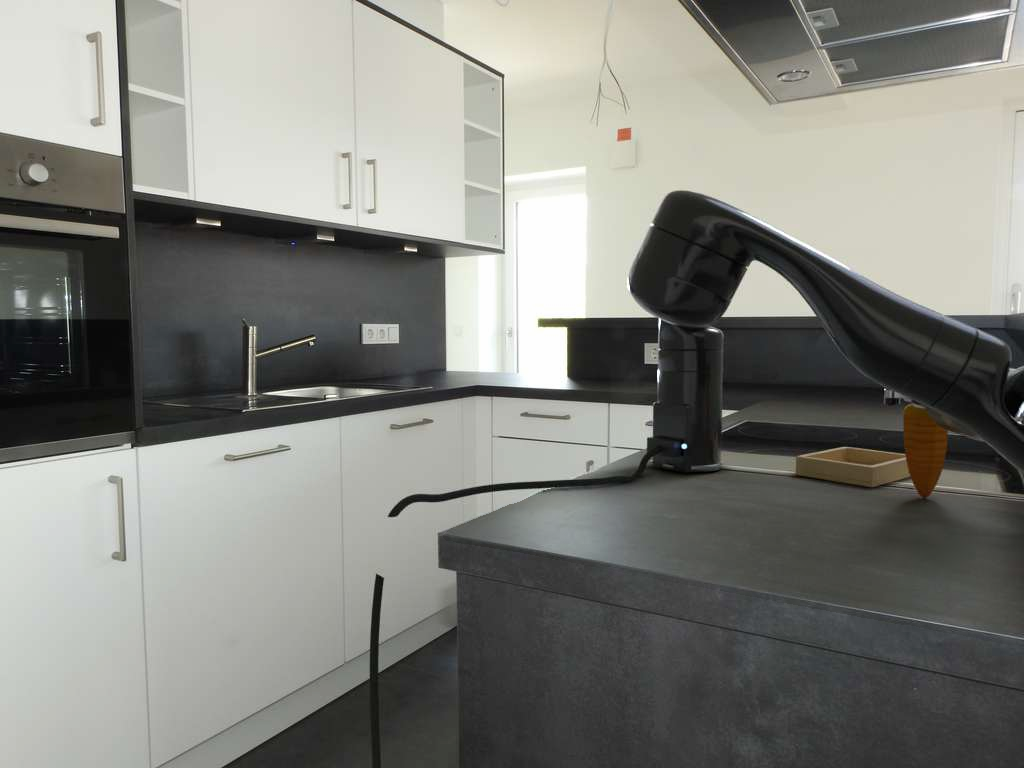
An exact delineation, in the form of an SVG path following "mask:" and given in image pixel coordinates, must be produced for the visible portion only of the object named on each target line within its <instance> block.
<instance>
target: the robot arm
mask: <svg viewBox="0 0 1024 768" xmlns="http://www.w3.org/2000/svg"><path fill="white" fill-rule="evenodd" d="M753 261H755V262H756V261H757V262H759V263H761V264H763V265H765V266H766V267H768V268H770V269H771V270H773V271H775V272H776V273H777V274H778V275H780V276H781V277H783V279H785V280H786V282H788V283H789V284H790V285H791V286H792V287H793V288H794V289H795V290H796V291H797V293H799V295H800V296H801V298H803V300H804V301H805V303H806V304H807V305H808V307H810V309H811V310H812V312H813V313H814V315H815V316H816V318H817V319H818V320H819V322H820V324H821V325H822V327H823V329H824V330H825V331H826V333H827V335H828V336H829V338H830V339H831V341H832V342H833V344H834V345H835V346H836V348H837V349H838V350H839V352H840V353H841V355H842V356H843V357H844V358H845V359H846V360H847V362H848V363H849V364H851V366H852V367H853V368H854V369H855V370H857V371H858V372H859V373H860V374H862V375H863V376H865V378H867V379H868V380H870V381H873V382H874V383H875V384H878V385H879V386H881V387H883V388H884V395H883V405H887V407H893V406H895V405H902V404H903V401H905V402H907V403H911V404H913V405H914V406H915V407H919V408H924V409H926V410H927V412H928V414H929V415H930V417H931V418H932V419H933V420H934V421H935V422H936V423H937V424H938V425H939V426H941V427H942V428H944V429H946V430H948V432H952V433H954V434H957V435H960V436H963V437H966V438H969V439H972V440H975V441H978V442H983V443H985V444H987V445H988V446H990V447H991V448H992V449H993V450H994V451H996V453H998V454H999V455H1000V456H1001V457H1002V458H1004V459H1005V460H1006V461H1007V462H1008V463H1010V464H1011V465H1012V466H1013V467H1014V468H1015V469H1017V470H1018V471H1019V472H1021V473H1022V474H1023V475H1024V365H1022V366H1020V367H1018V368H1013V367H1011V364H1012V350H1011V348H1010V346H1009V345H1008V343H1006V342H1005V341H1004V340H1002V339H1001V338H999V337H997V336H995V335H993V334H990V333H989V332H986V331H984V330H981V329H979V328H976V327H974V326H973V325H969V324H967V323H966V322H962V321H960V320H958V319H955V318H953V317H950V316H948V315H947V314H944V313H941V312H938V311H936V310H934V309H931V308H928V307H926V306H923V305H921V304H919V303H917V302H914V301H912V300H910V299H908V298H906V297H903V296H902V295H899V294H897V293H895V292H893V291H892V290H889V289H888V288H886V287H884V286H882V285H880V284H878V283H876V282H874V281H872V279H869V278H867V277H865V276H863V275H862V274H860V273H859V272H856V271H854V270H853V269H852V268H850V267H848V266H847V265H845V264H843V263H841V262H840V261H838V260H836V259H834V258H833V257H831V256H829V255H827V254H825V253H824V252H821V251H820V250H818V249H816V248H814V247H812V246H811V245H809V244H807V243H805V242H803V241H801V240H799V239H797V238H796V237H794V236H792V235H790V234H788V233H786V232H784V231H783V230H781V229H779V228H777V227H776V226H773V225H771V224H770V223H767V222H765V221H764V220H762V219H760V218H757V217H755V216H754V215H751V214H750V213H748V212H746V211H744V210H742V209H740V208H738V207H736V206H734V205H731V204H730V203H727V202H725V201H722V200H720V199H717V198H715V197H712V196H710V195H706V194H703V193H700V192H695V191H691V190H685V189H684V190H683V189H680V190H679V189H678V190H677V189H676V190H672V191H670V192H668V193H667V194H666V195H664V197H663V198H662V200H661V202H660V204H659V206H658V207H657V210H656V212H655V214H654V216H653V218H652V220H651V222H650V225H649V227H648V229H647V232H646V233H645V236H644V237H643V240H642V242H641V243H640V246H639V248H638V250H637V253H636V254H635V257H634V260H633V261H632V263H631V265H630V269H629V272H628V276H627V289H628V291H629V294H630V296H631V297H632V298H633V300H634V301H635V302H636V303H637V305H638V306H639V307H641V308H642V309H643V310H644V311H645V312H647V313H648V314H650V315H652V316H653V317H655V318H657V319H658V341H657V349H658V350H657V401H655V402H654V403H653V404H652V436H649V437H646V453H645V454H644V455H643V456H642V458H641V460H640V462H639V465H638V467H637V468H636V469H635V470H634V471H633V472H632V473H631V474H629V475H613V476H606V477H599V478H598V477H596V478H579V479H578V478H575V479H574V478H573V479H556V480H555V479H554V480H535V481H517V482H502V483H493V484H484V485H478V486H473V487H468V488H463V489H457V490H453V491H448V492H444V493H443V492H442V493H434V494H433V493H414V494H410V495H408V496H407V495H406V496H405V497H404V498H402V499H401V500H399V501H398V502H397V503H396V504H395V505H394V506H393V507H392V509H391V510H390V511H389V513H388V515H387V518H397V517H398V516H399V515H400V514H401V513H402V511H403V510H405V509H406V508H407V507H408V506H410V505H413V504H414V503H443V502H447V501H452V500H456V499H460V498H465V497H470V496H474V495H480V494H487V493H495V492H504V491H516V490H517V491H519V490H537V489H554V488H555V489H556V488H558V489H559V488H575V487H576V488H577V487H596V486H605V485H606V486H607V485H612V484H613V485H614V484H624V483H630V482H632V481H634V480H636V479H638V478H639V477H640V476H641V475H642V474H643V473H644V471H645V470H646V467H647V465H648V463H649V461H650V460H651V459H652V460H651V461H652V464H651V466H652V468H657V469H661V470H668V471H672V472H679V473H683V474H688V473H708V472H715V471H719V470H721V469H722V468H723V460H722V445H723V397H724V396H723V394H724V393H723V392H724V352H725V351H724V348H725V347H724V346H725V343H724V342H725V336H724V333H723V331H722V330H721V329H719V328H716V327H714V325H716V323H718V322H719V321H720V319H721V318H722V317H723V316H724V315H725V313H726V312H727V310H728V308H729V307H730V305H731V303H732V300H733V298H734V296H735V295H736V292H737V290H738V288H739V286H740V285H741V282H742V281H743V279H744V277H745V275H746V272H747V271H748V268H749V267H750V265H751V263H752V262H753ZM374 578H375V579H374V585H373V594H372V606H371V617H370V619H371V620H370V634H369V635H370V636H369V639H370V640H369V714H370V715H369V717H370V743H371V744H370V745H371V768H382V764H381V763H382V759H381V733H380V696H379V695H380V693H379V691H380V690H379V651H380V628H381V627H380V626H381V611H382V610H381V609H382V601H383V591H384V581H385V577H384V576H381V575H380V574H379V573H375V577H374Z"/></svg>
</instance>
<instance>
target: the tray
mask: <svg viewBox="0 0 1024 768" xmlns="http://www.w3.org/2000/svg"><path fill="white" fill-rule="evenodd" d="M795 475H796V476H802V477H807V478H814V479H819V480H826V481H832V482H836V483H843V484H849V485H855V486H856V485H857V486H861V487H866V488H876V487H878V486H882V485H885V484H889V483H893V482H897V481H900V480H903V479H908V478H911V476H910V474H909V470H908V465H907V460H906V454H905V453H900V452H899V453H898V452H890V451H883V450H874V449H867V448H859V447H852V446H851V447H850V446H841V447H836V448H831V449H826V450H821V451H816V452H815V451H814V452H810V453H806V454H800V455H796V456H795Z"/></svg>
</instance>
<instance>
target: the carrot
mask: <svg viewBox="0 0 1024 768" xmlns="http://www.w3.org/2000/svg"><path fill="white" fill-rule="evenodd" d="M902 425H903V426H902V427H903V428H902V429H903V431H902V432H903V447H904V454H906V460H907V465H908V470H909V474H910V476H911V477H910V479H911V481H912V484H913V486H914V488H915V490H916V491H917V493H918V495H919V496H920V497H921V498H922V499H923V500H924V499H927V498H928V497H930V496H931V494H932V493H933V491H934V489H935V488H936V486H937V484H938V483H939V479H940V477H941V475H942V471H943V467H944V464H945V459H946V455H947V449H948V436H949V430H946V429H944V428H942V427H941V426H939V425H938V424H937V423H936V422H935V421H934V420H933V419H932V418H931V417H930V415H929V414H928V412H927V410H926V409H924V408H919V407H915V406H914V405H913V403H910V404H907V405H906V406H905V407H904V409H903V411H902Z"/></svg>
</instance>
